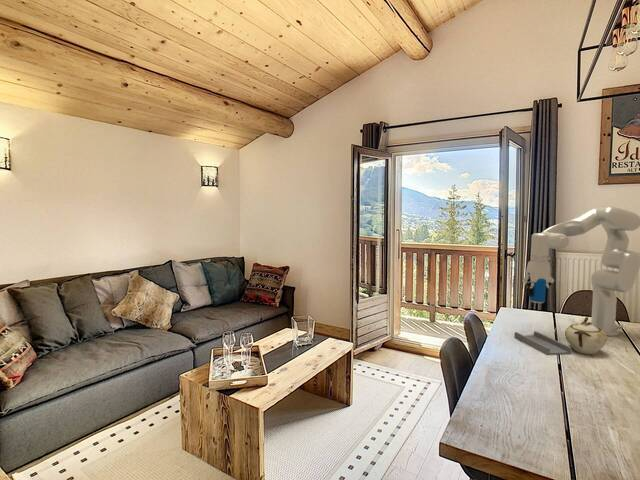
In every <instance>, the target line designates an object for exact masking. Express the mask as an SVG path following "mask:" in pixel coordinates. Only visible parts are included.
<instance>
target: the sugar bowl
mask: <svg viewBox="0 0 640 480" xmlns="http://www.w3.org/2000/svg"><path fill="white" fill-rule="evenodd" d="M588 320H589V317H588V316H586V317H585V318H584V319H583V321H582V322H578V323H572V324H570V325H569V326H568V327H566V329H565V331H564V337H565V339H566V341H567V343H568V344H569V346H570V347H572V350H574V351H576V352H578V353H581V354H584V355H585V354H586V355H595V354H597V353H598V352H599V351H600V350H601V349H603V347H605V345H606V344H607V342H608V336H606V334H605V333H604V332H603V331H602V330H601V329H600V328H598V327H596V326H593V325H592V323H591V322H590V321H589V322H588Z"/></svg>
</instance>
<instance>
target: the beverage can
mask: <svg viewBox="0 0 640 480" xmlns="http://www.w3.org/2000/svg"><path fill="white" fill-rule="evenodd" d="M533 289H534V293H533V297H531V296H529V301H530V302H531V303H535V304H544V303H546V297H545V293H546V280H545V278H539V279H538V280H537V281H536V283H534V286H533Z"/></svg>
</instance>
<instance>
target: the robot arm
mask: <svg viewBox="0 0 640 480" xmlns="http://www.w3.org/2000/svg"><path fill="white" fill-rule="evenodd" d="M597 226H602V228H603V229H604V231H605V232H606V235H607V240H606V244H605V246H604V250H603V253H602V256H601V258H600V259H601V264H602V266H604V267H606V268H610V269H616V270H617V271H615V270H610V269H604V268H603V269H601V268H600V269H597V270H595V271H593V272H592V274H591V276H590V281H591V286H592V287H591V288H592V304H591V322H590V323H592V325H593V326H596V327H598V328H600V329H601V330H602V331H603V332H604V333H605V334H606V336H607V337H609V336H610V337H617V336H618V335H619V331H618V330H620V329H624V325H623V324H616V314H617V301H618V300H617V295H616V292H618V293H629V292H630V291H631V290H632V289H633V288H634V285H635V283H636V280H637V277H638V274H639V271H640V255H639V253H637V252H636V251H634V250H628V247H629V243H630V238H629V235H628V234H627V232H628V231H629V232H630V231H631V232H632V231H635V230H638V229H639V228H640V215H639V214H637V213H636V212H633V211H629V210H626V209H622V208H619V207H615V206H594V207H591V208H589V209H588V210H586V211H584V212H583V213H581V214H579V215H577V216H576V217H574V218H572V219H569V220H567V221H564V222H561V223H557V224H555V225H553V226H549V227H548V228H546V229H545V230H543V231H542V232H540V233H539V232H534V233H533V234H531V239H530V241H531V242H530V260H529V261H528V262H527V266H526V270H525V271H526V272H525V276H524V277H523V279H522V282H523V284H524V285H525V286H526V288H527V296H529V297H530V296H531V297H533V293H534V289H533V286H534V283H536V281H537V280H538V279H539V278H545V280H546V293H545V298H546V297H548V294H549V293H548V292H549V288H550V287H551V286H552V284H554V282H555V279H554V278H553V277H552V276H551V263H550V262H549V260H551V256H550V249H553V250H561V249H564V248H567V246H568V245H569V243H570V239H569V238H570V237H577V236H582V235H584V234H586V233H588V232H589V231H591V230H593V229H594V228H596V227H597ZM626 231H627V232H626Z"/></svg>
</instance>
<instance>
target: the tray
mask: <svg viewBox="0 0 640 480" xmlns="http://www.w3.org/2000/svg"><path fill="white" fill-rule="evenodd" d="M514 339H515V340H516V339H517V340H518V341H520V342H522V343H523V344H526V345H527V346H529V347H532V348H533V349H534V350H537V351H539V352H541V353H543V354H544V355H546V356H555V355H557V356H558V355H572V351H573V347H572V346H570V345H568V344H564V343H562V342H561V341H558V340H556V339H554V338H551V337H549V336H547V335H545V334H543V333H540V332H539V331H535V330H534V331H533V334H532V335H523V334H521V333H520V332H518V331H514Z"/></svg>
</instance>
